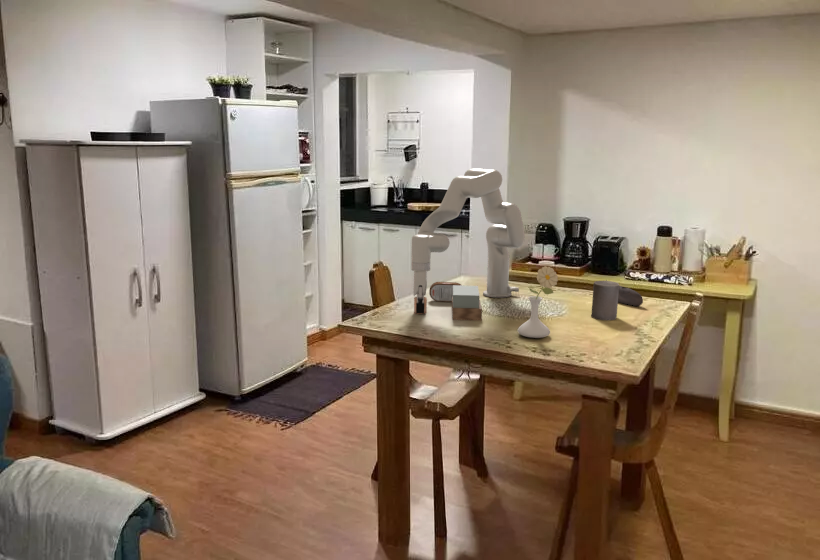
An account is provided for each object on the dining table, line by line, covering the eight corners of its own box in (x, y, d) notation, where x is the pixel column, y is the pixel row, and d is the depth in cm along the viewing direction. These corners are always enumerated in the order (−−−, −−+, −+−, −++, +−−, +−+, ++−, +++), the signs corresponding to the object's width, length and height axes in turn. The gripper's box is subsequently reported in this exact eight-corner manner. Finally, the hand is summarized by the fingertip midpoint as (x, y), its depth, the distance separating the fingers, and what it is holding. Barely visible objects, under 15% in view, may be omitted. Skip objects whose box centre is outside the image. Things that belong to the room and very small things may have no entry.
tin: (464, 301, 285) (464, 282, 284) (464, 303, 282) (464, 283, 281) (429, 300, 287) (429, 281, 285) (428, 301, 284) (429, 282, 282)
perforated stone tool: (646, 307, 277) (647, 291, 276) (637, 309, 275) (638, 292, 273) (619, 300, 290) (620, 284, 289) (610, 301, 288) (611, 285, 286)
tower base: (478, 309, 273) (478, 297, 272) (481, 321, 254) (482, 308, 253) (451, 309, 273) (452, 297, 272) (452, 321, 255) (453, 308, 254)
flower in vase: (519, 340, 228) (522, 268, 223) (515, 331, 240) (518, 262, 235) (557, 341, 228) (561, 269, 223) (552, 332, 239) (555, 263, 234)
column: (426, 311, 268) (426, 296, 266) (426, 314, 263) (426, 299, 261) (414, 310, 268) (414, 296, 266) (413, 314, 263) (414, 299, 262)
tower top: (477, 297, 272) (477, 285, 271) (479, 308, 254) (479, 295, 253) (452, 297, 272) (453, 285, 271) (452, 307, 255) (453, 295, 254)
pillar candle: (586, 315, 263) (588, 278, 260) (606, 313, 267) (608, 276, 264) (601, 321, 254) (604, 283, 251) (622, 319, 258) (625, 281, 255)
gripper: (411, 262, 270) (411, 306, 273) (410, 270, 253) (410, 316, 257) (430, 262, 270) (429, 306, 273) (430, 270, 253) (429, 316, 257)
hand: (420, 310), depth 265 cm, fingers closed on column, 5 cm apart
